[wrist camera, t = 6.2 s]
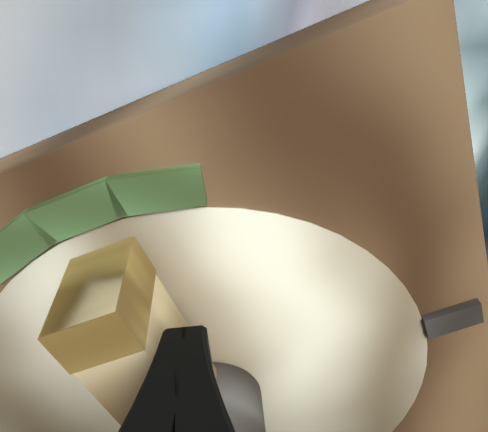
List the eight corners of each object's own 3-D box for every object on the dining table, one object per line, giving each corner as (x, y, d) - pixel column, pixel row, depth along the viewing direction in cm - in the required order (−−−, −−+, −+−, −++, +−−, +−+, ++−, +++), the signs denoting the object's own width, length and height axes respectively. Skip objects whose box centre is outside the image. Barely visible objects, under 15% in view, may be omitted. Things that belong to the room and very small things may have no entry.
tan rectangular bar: (274, 411, 18) (286, 499, 16) (184, 438, 19) (180, 527, 16) (165, 220, 13) (153, 299, 10) (44, 264, 14) (2, 351, 11)
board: (112, 534, 26) (106, 571, 25) (-235, 259, 15) (-285, 297, 13) (495, 427, 23) (515, 462, 22) (424, -24, 12) (457, -16, 10)
